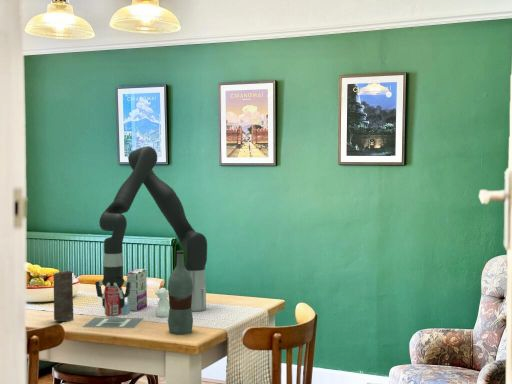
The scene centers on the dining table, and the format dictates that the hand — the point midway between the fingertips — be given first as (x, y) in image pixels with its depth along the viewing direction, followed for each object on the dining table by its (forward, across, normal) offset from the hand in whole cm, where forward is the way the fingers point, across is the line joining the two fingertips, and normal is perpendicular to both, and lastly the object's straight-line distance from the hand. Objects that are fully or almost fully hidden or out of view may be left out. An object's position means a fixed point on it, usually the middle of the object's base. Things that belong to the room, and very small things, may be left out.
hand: (113, 307), depth 257 cm
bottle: (+7, -28, +10) cm, 31 cm away
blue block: (+7, +1, -16) cm, 17 cm away
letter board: (+6, 0, 0) cm, 6 cm away
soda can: (+3, 0, 0) cm, 3 cm away
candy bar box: (+7, -2, -29) cm, 30 cm away
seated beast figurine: (+7, -17, -14) cm, 23 cm away
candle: (+7, +21, -3) cm, 22 cm away
